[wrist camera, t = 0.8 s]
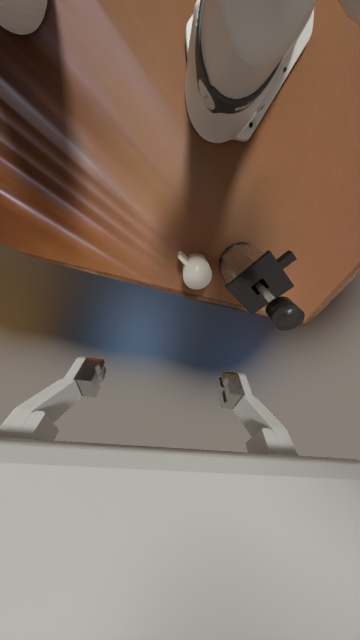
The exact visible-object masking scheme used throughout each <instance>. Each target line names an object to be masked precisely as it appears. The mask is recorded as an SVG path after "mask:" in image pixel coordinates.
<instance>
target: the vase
mask: <svg viewBox="0 0 360 640" xmlns="http://www.w3.org/2000/svg"><path fill="white" fill-rule="evenodd" d="M46 7H47V0H0V26H2V27H3V28H4V29H6V30H8V31H10V32H12V33H15V34H19V35H27V34H30V33H32V32H34V31H35V30H36V29H37V28H38V27H39V26H40V24H41V22H42V20H43V18H44V15H45V11H46Z"/></svg>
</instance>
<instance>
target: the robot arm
mask: <svg viewBox="0 0 360 640" xmlns="http://www.w3.org/2000/svg"><path fill="white" fill-rule="evenodd" d="M316 2H317V0H197V1H196V4H195V9H194V14H193V15H192V16H191V18H190V19H189V21H188V23H187V26H186V32H185V43H186V53H187V71H186V80H185V99H186V106H187V111H188V115H189V118H190V120H191V123H192V125H193V127H194V128H195V130H196V131H197V133H198V134H199V135H200V136H201V137H202V138H204V139H205V140H207V141H209V142H212V143H223V142H226V141H229V140H238V141H242V142H244V141H247V140H248V139H249V138H250V137H251V135H252V134H253V132H254V130H255V129H256V127H257V125H258V124H259V122H260V121H261V119H262V117H263V116H264V114H265V112H266V111H267V109H268V107H269V106H270V104H271V102H272V101H273V99H274V97H275V96H276V94H277V92H278V91H279V89H280V87H281V86H282V84H283V82H284V81H285V79H286V77H287V76H288V74H289V72H290V71H291V69H292V67H293V66H294V64H295V62H296V61H297V59H298V58H299V56H300V54H301V53H302V51H303V49H304V48H305V46H306V44H307V42H308V41H309V39H310V37H311V34H312V28H313V20H314V7H315V5H316ZM338 2H339V3H340V5H341V6H342V8H343V10H344V11H345V13H346V14H347V16H348V17H349V18H350V19H352V20H353V21H354V22H356V23H357V24H359V25H360V0H338ZM283 70H284V72H283ZM249 123H252V128H250V127H249ZM104 363H105V362H104V359H96V358H88V357H78V358H77V359H76V361H75V362H74V364H73V365H72V367H71V368H70V370H69V371H68V373H67V374H66V376H65V377H64V379H60V380H58V381H57V382H55V383H53V384H52V385H51V386H49V387H47V388H46V389H44V390H43V391H41V392H40V393H38V394H36V395H35V396H33V397H32V398H30V399H29V400H27V401H25V402H24V403H22V404H21V405H19V406H18V407H16V408H15V409H14V410H13V411H12V412H11V414H10V415H9V416H8V417H7V419H6V420H5V421H4V422H3V424H2V425H1V426H0V640H360V460H356V459H346V458H329V457H313V456H298V454H297V452H296V450H295V448H294V445H293V443H292V441H291V439H290V437H289V434H288V432H287V430H286V428H285V427H284V426H283V425H282V424H281V423H280V422H279V421H278V420H277V419H276V418H275V417H274V416H273V415H272V414H271V413H270V412H269V411H268V410H267V409H266V407H264V405H262V403H261V402H260V401H259V400H258V399H257V398H256V397H253V395H252V392H251V389H250V387H249V384H248V381H247V378H246V376H245V374H241V373H231V372H222V374H221V377H220V378H219V380H218V384H217V388H218V392H219V393H220V394H221V395H220V397H219V399H220V404H221V408H231V409H233V410H234V412H235V413H236V415H237V416H238V418H239V419H240V421H241V422H242V423H243V425H244V426H245V428H246V429H247V431H248V432H249V434H250V435H251V437H252V438H251V439H249V440H248V441H247V442H246V447H247V451H248V452H231V451H214V450H199V449H182V448H166V447H150V446H149V447H148V446H133V445H117V444H99V443H84V442H67V441H54V439H55V437H56V435H57V434H58V428H57V427H56V426H55V425H54V422H55V421H56V420H57V419H58V418H59V417H60V416H62V415H63V414H64V413H65V412H66V411H67V410H68V409H69V408H70V407H71V406H73V405H74V404H75V403H76V402H77V401H78V400H79V399H80V398H81V397H82V396H89V397H96V396H97V393H98V391H99V389H100V384H99V383H101V382H102V381H103V379H104V377H105V373H106V367H105V366H104Z"/></svg>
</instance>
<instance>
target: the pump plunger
mask: <svg viewBox="0 0 360 640" xmlns="http://www.w3.org/2000/svg"><path fill="white" fill-rule="evenodd" d="M254 286H255V287H256V288H257V289H258V291H259V292H260V293H261V294H262V295H263V296H264V298H265V299H266V300H267V301H268V302H269V303H268V305H267V306H266V313H267V315H268V316H269V317H270V319H271V320H272V321H273V323H274V324H275V325H276V327H277V328H278V329H280V330H290V329H293V328H295V327H297V326H298V325H299V324H301V323H302V321H303V320H304V316H305V315H304V312H303V311H302V310H301V309H300V308H299V307H298V306H296V305H295V304H294V303H293V302H292V301H291V300H290V299H289V298H287V297H277V298H275V297H274V296H273V295H272V294H271V293H270V292H269V291H268V290H267V289H266V288H265V287H264V286H263V285H262V284H261V282H260V281H258V282H257V283H256V284H254Z"/></svg>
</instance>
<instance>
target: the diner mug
mask: <svg viewBox="0 0 360 640" xmlns="http://www.w3.org/2000/svg"><path fill="white" fill-rule="evenodd" d="M177 258H178V259H179V260H180V261H181V262H182V263H183V280H184V283H185V284H186V285H187V286H188V287H189V288H191V289H196V290H197V289H202V288H204V287H206V286H207V285H208V284H209V283H210V281H211V278H212V271H211V269H210V266H209V264H208V261H207V259H206V257H205V256H204V255H203V254H201V253H191V254H189V255H188V256H186V255H185V254H184V253H183V252H182V251H181V250H180V251H179V252H178V257H177Z"/></svg>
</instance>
